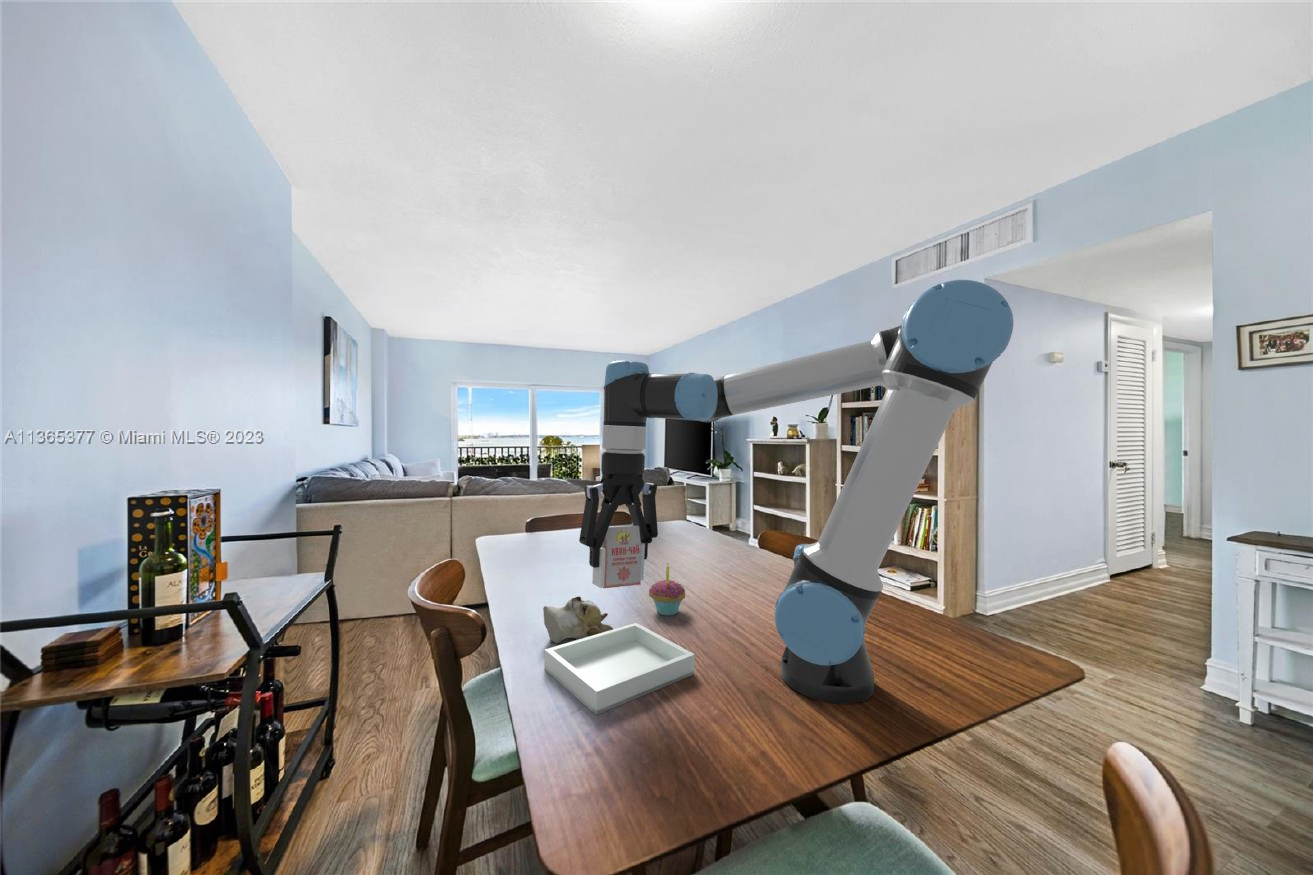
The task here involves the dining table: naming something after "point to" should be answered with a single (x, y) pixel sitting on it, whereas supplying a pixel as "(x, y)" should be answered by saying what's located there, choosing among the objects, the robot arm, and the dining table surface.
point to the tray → (617, 666)
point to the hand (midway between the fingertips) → (618, 581)
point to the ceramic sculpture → (574, 620)
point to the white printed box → (622, 556)
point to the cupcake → (667, 595)
